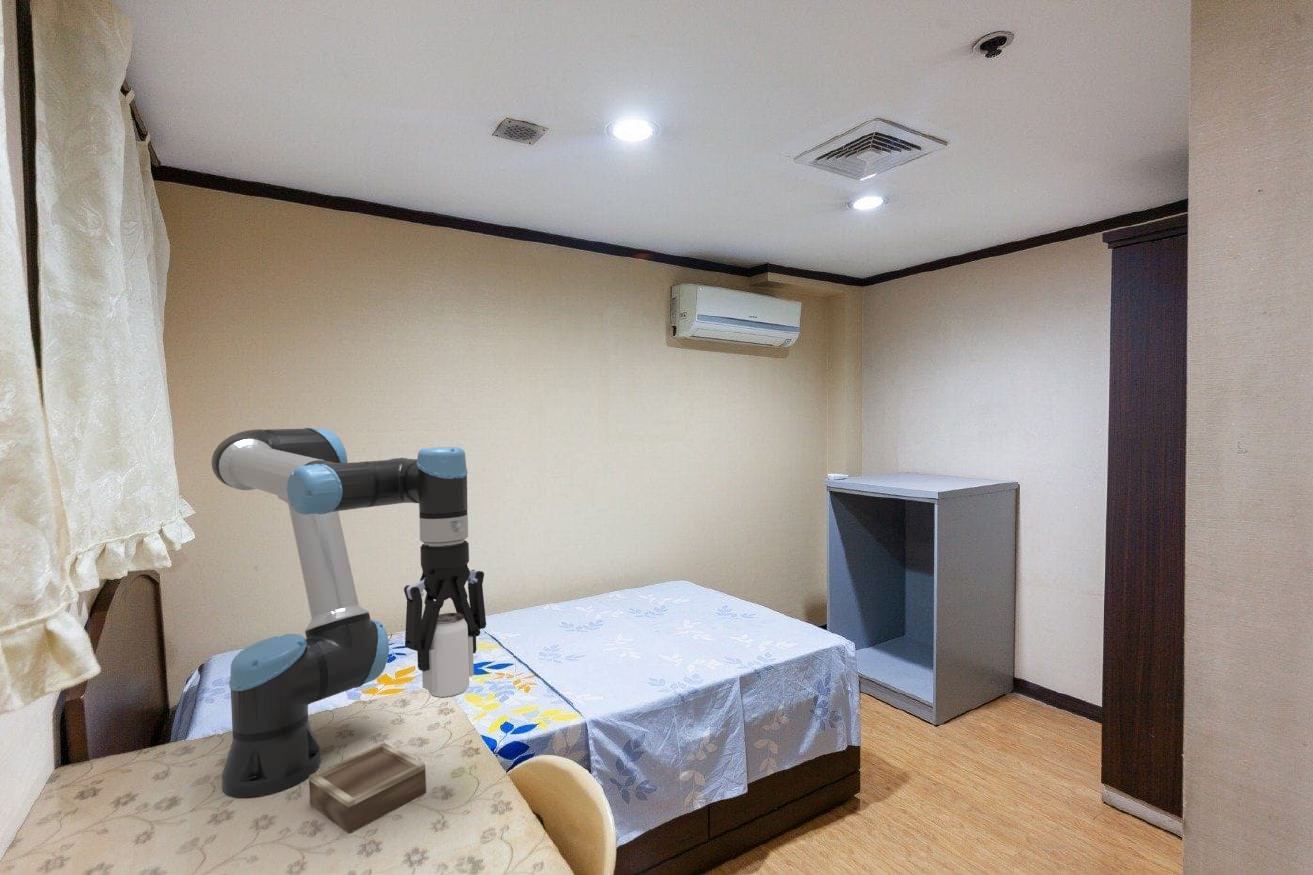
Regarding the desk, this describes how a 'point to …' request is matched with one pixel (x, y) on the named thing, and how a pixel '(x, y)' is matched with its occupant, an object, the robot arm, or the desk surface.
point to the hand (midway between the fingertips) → (448, 681)
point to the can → (451, 655)
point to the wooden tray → (367, 786)
